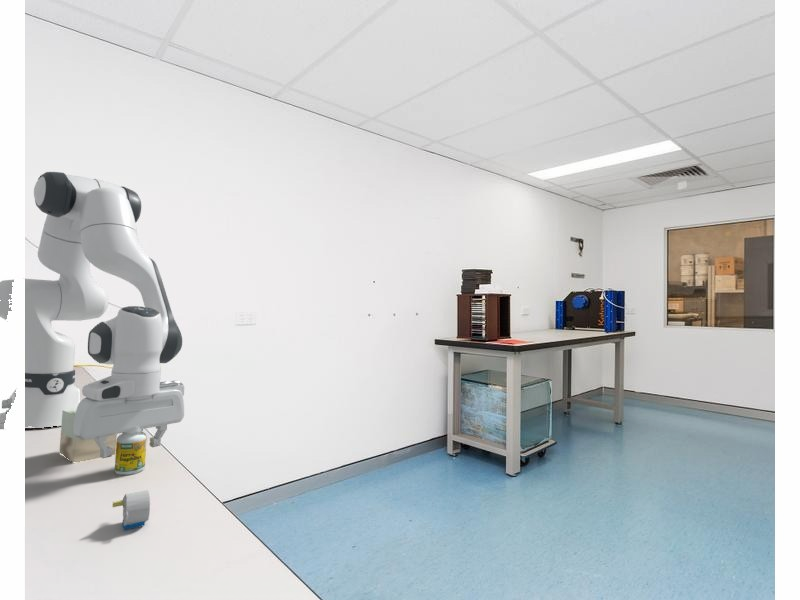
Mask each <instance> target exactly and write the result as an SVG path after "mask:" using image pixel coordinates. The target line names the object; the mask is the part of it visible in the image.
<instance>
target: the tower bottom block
mask: <svg viewBox="0 0 800 600" xmlns="http://www.w3.org/2000/svg"><path fill="white" fill-rule="evenodd" d="M59 438H60V439H59V441H60V442H59V452H60V453H61V454H63V455H64V456H65V457H66V458H68V459H69V460H71V461H72V462H78V463H81V462H80V461H83V462H86V460H87V461H90V460H91V459H92V460H94V459H100V458H101V457H100V448H99V446H98V445H97V443H96V442H95V438H91V439H86V440H83V439H80V440H74V439H72V438H70V437H68V436H67V435H65V434H63V433H61V432H60V437H59ZM117 438H118V434H113V435H108V436H107V441H103V442H104V443H105V445H106V447H107V446H109V447H111V448H112V452H111V453H112V456H114V455H116V441H117ZM66 458H65V459H66ZM101 459H102V458H101ZM69 460H68V461H69ZM71 461H70V462H71ZM72 462H71V463H72Z"/></svg>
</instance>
